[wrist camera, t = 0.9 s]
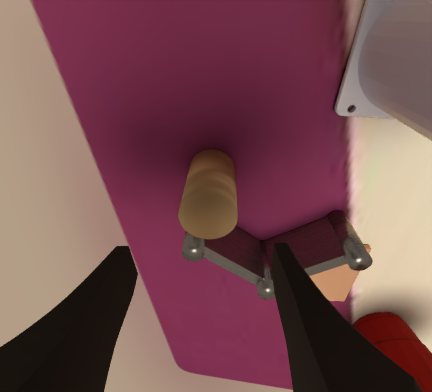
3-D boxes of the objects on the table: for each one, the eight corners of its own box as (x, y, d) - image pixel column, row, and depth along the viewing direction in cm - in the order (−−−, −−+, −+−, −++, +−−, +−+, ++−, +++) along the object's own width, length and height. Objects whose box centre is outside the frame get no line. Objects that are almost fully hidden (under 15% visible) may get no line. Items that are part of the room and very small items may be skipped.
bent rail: (347, 211, 23) (376, 256, 19) (329, 256, 26) (349, 304, 22) (190, 201, 23) (181, 244, 19) (190, 248, 26) (183, 294, 22)
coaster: (368, 245, 25) (371, 248, 25) (342, 297, 30) (343, 301, 29) (283, 240, 25) (284, 244, 25) (270, 293, 30) (270, 297, 29)
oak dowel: (237, 150, 20) (240, 194, 15) (233, 190, 22) (235, 240, 17) (189, 147, 20) (177, 190, 15) (190, 187, 22) (179, 237, 17)
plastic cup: (420, 344, 34) (498, 477, 24) (332, 351, 36) (372, 478, 26) (437, 292, 29) (549, 440, 19) (332, 304, 30) (383, 444, 20)
